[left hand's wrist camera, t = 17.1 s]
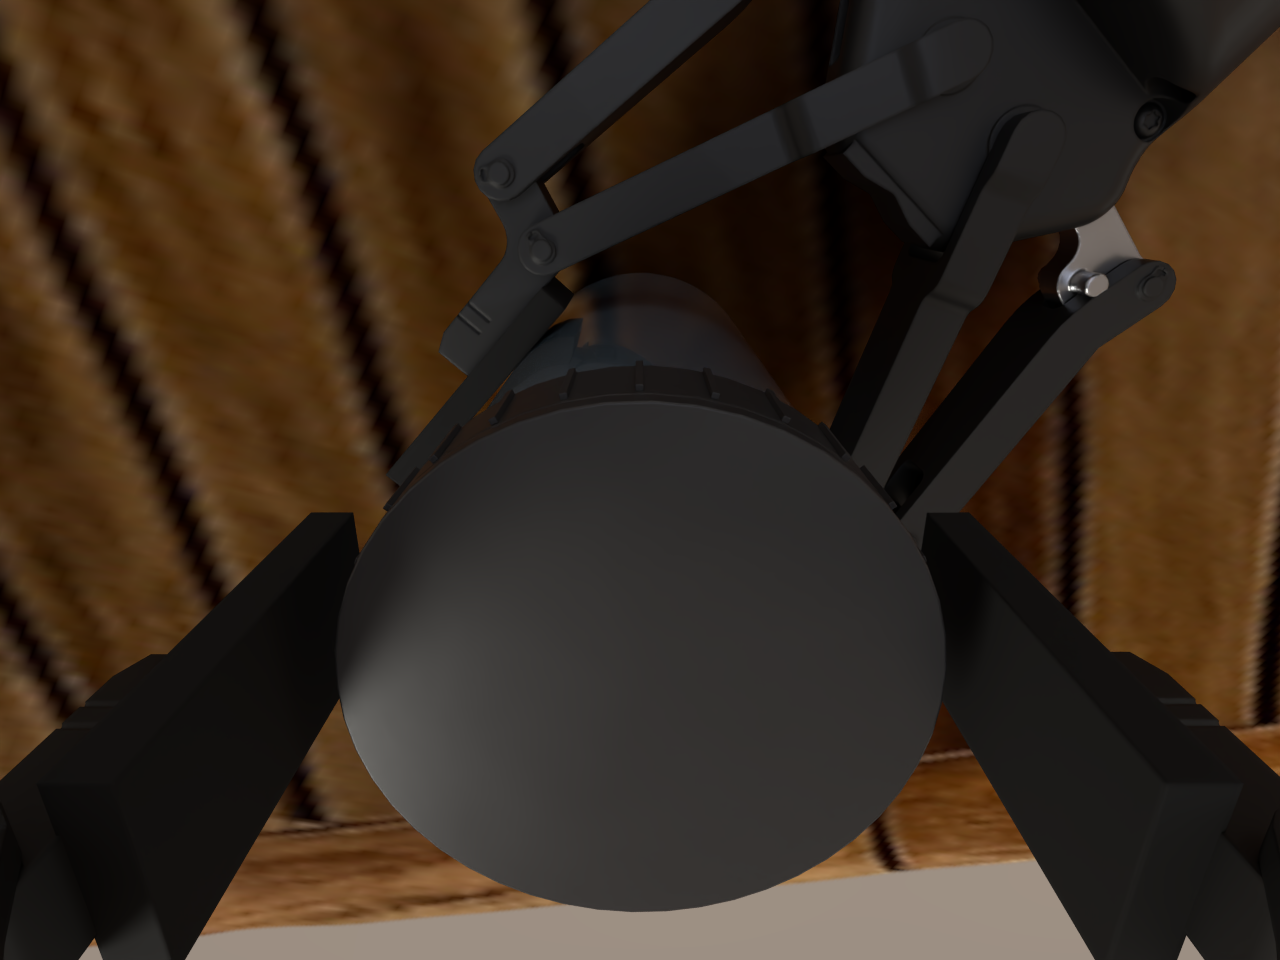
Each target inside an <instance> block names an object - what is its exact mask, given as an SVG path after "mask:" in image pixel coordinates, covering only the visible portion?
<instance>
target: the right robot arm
mask: <svg viewBox="0 0 1280 960" xmlns="http://www.w3.org/2000/svg"><path fill="white" fill-rule="evenodd" d="M751 1H752V0H650V1H649V2H648V3H647V4H646V5H644V6H643V7H642V8H641V9H640V10H639V11H638V12H637V13H635V14H634V15H633V16H632V17H631V18H630V19H629V20H628V21H627V22H625V23H624V24H623V25H622V26H621V27H620V28H619V29H618V30H617V31H615V32H614V33H613V34H612V35H611V36H610V37H609V38H608V39H606V40H605V41H604V42H603V43H602V44H601V45H600V46H599V47H598V48H596V49H595V50H594V51H593V52H592V53H591V54H590V55H589V56H588V57H586V58H585V59H584V60H583V61H582V62H581V63H580V64H579V65H578V66H576V67H575V68H574V69H573V70H572V71H571V72H570V73H569V74H567V75H566V76H565V77H564V78H563V79H562V80H561V81H560V82H559V83H557V84H556V85H555V86H554V87H553V88H552V89H551V90H550V91H549V92H547V93H546V94H545V95H544V96H543V97H542V98H541V99H540V100H539V101H537V102H536V103H535V104H534V105H533V106H532V107H531V108H530V109H528V110H527V111H526V112H525V113H524V114H523V115H522V116H521V117H520V118H518V119H517V120H516V121H515V122H514V123H513V124H512V125H511V126H510V127H508V128H507V129H506V130H505V131H504V132H503V133H502V134H501V135H500V136H498V137H497V138H496V139H495V140H494V141H493V142H492V143H491V144H489V145H488V146H487V147H486V148H485V149H484V150H483V151H482V152H481V153H480V155H479V156H478V157H477V159H476V162H475V166H474V177H475V182H476V184H477V185H478V187H479V189H480V191H481V192H482V193H484V194H485V195H486V196H487V197H488V198H489V200H490V202H491V204H492V205H493V207H494V209H495V211H496V213H497V214H498V216H499V218H500V220H501V221H502V223H503V226H504V228H505V230H506V235H507V249H506V252H505V255H504V257H503V259H502V260H501V262H500V263H499V264H498V266H497V267H496V268H495V269H494V271H493V272H492V273H491V274H490V276H489V277H488V278H487V279H486V281H485V282H484V283H483V284H482V286H481V287H480V288H479V289H478V291H477V292H476V293H475V294H474V296H473V297H472V298H471V299H470V301H469V302H468V303H467V304H466V305H465V307H464V308H463V309H462V310H461V312H460V313H459V314H458V316H457V317H456V318H455V319H454V320H453V322H452V323H451V324H450V325H449V327H448V328H447V329H446V330H445V332H444V334H443V338H442V341H441V345H440V349H439V353H440V354H442V355H443V356H444V357H445V358H446V359H448V360H449V361H450V362H451V363H453V364H454V365H455V366H456V367H457V368H459V369H460V370H461V371H462V372H463V373H465V374H466V375H467V376H468V377H467V378H466V379H465V380H464V382H463V383H462V384H461V385H460V386H459V388H458V389H457V390H456V391H455V392H454V394H453V395H452V396H451V397H450V398H449V400H448V401H447V402H446V403H445V404H444V406H443V407H442V408H441V409H440V410H439V412H438V413H437V414H436V415H435V416H434V418H433V419H432V420H431V421H430V422H429V424H428V425H427V426H426V427H425V428H424V430H423V431H422V432H421V433H420V434H419V436H418V437H417V438H416V439H415V440H414V442H413V443H412V444H411V445H410V446H409V448H408V449H407V450H406V451H405V452H404V454H403V455H402V456H401V457H400V458H399V460H398V461H397V462H396V463H395V464H394V466H393V467H392V468H391V469H390V470H389V472H388V473H387V474H386V476H388V477H389V478H390V479H392V480H393V481H394V482H396V483H397V484H398V485H400V486H401V484H402V483H403V482H404V481H405V480H406V478H407V477H408V476H409V475H410V473H411V472H412V471H413V470H414V468H415V467H417V468H419V469H421V468H422V467H423V466H424V465H425V464H426V462H427V461H428V460H429V457H430V456H431V455H432V453H433V452H434V451H435V450H436V448H437V447H438V446H439V445H440V443H441V442H442V441H443V439H444V438H445V437H446V436H447V434H448V433H449V432H450V431H451V429H452V428H453V427H454V426H455V425H456V424H459V425H460V426H461V427H463V426H464V425H465V424H466V423H468V422H469V421H470V420H471V419H472V418H473V417H474V416H475V414H476V413H477V412H478V411H479V410H480V409H481V407H482V406H483V405H484V404H485V403H486V402H487V400H488V399H489V398H490V397H491V396H492V395H493V393H494V392H495V391H496V390H497V389H498V388H499V386H500V385H501V384H502V383H503V382H504V381H505V379H506V378H507V377H508V376H509V375H510V374H511V372H512V371H513V370H514V369H515V368H516V366H517V365H518V364H519V363H520V362H521V361H522V359H523V358H524V357H525V356H526V355H527V354H528V352H529V351H530V350H531V349H532V348H533V347H534V345H535V344H536V343H537V342H538V341H539V340H540V338H541V337H542V336H543V335H544V334H545V333H546V331H547V330H548V329H549V328H550V327H551V325H552V324H553V323H554V322H555V321H556V320H557V318H558V317H559V316H560V315H561V314H562V313H563V311H564V310H565V309H566V307H567V306H568V304H569V303H570V301H571V299H572V298H573V296H574V294H573V293H572V292H571V291H570V290H569V289H568V288H566V287H565V286H564V285H563V284H562V283H561V282H560V281H559V280H558V279H556V278H555V276H556V275H557V273H558V272H559V271H560V270H562V269H565V268H567V267H569V266H571V265H573V264H575V263H577V262H580V261H582V260H584V259H586V258H588V257H590V256H592V255H595V254H597V253H599V252H601V251H603V250H605V249H607V248H610V247H612V246H614V245H616V244H618V243H620V242H622V241H625V240H627V239H629V238H631V237H633V236H635V235H637V234H640V233H642V232H644V231H646V230H648V229H650V228H652V227H654V226H657V225H659V224H661V223H663V222H665V221H667V220H669V219H672V218H674V217H676V216H678V215H680V214H682V213H684V212H687V211H689V210H691V209H693V208H695V207H697V206H699V205H702V204H704V203H706V202H708V201H710V200H712V199H714V198H717V197H719V196H721V195H723V194H725V193H727V192H729V191H731V190H734V189H736V188H738V187H740V186H742V185H744V184H746V183H749V182H751V181H753V180H755V179H757V178H759V177H761V176H764V175H766V174H768V173H770V172H772V171H774V170H776V169H779V168H781V167H783V166H785V165H787V164H789V163H791V162H794V161H796V160H798V159H801V158H803V157H806V156H808V155H811V154H813V153H815V152H817V151H820V150H822V149H824V148H825V149H826V151H827V153H826V154H825V155H824V156H823V157H824V158H825V159H826V160H827V162H828V163H829V164H830V165H831V166H832V167H833V168H834V169H835V170H836V171H837V172H838V173H839V174H840V175H841V177H842V178H844V179H845V180H847V181H849V182H850V183H852V184H854V185H856V186H857V187H859V188H861V189H863V190H864V191H866V192H868V193H869V194H870V196H871V197H872V199H873V201H874V203H875V205H876V207H877V209H878V211H879V213H880V215H881V217H882V219H883V221H884V223H885V224H886V225H887V226H888V227H889V228H890V229H891V230H892V231H893V232H894V233H895V234H896V235H897V236H898V237H899V239H900V240H901V241H902V242H905V243H904V245H903V248H902V250H901V252H900V255H899V257H898V259H897V261H896V264H895V267H894V269H893V274H892V287H891V290H890V293H889V295H888V297H887V299H886V302H885V304H884V306H883V309H882V311H881V313H880V315H879V318H878V320H877V322H876V325H875V327H874V329H873V331H872V334H871V336H870V338H869V341H868V343H867V345H866V347H865V350H864V352H863V354H862V357H861V359H860V361H859V363H858V366H857V368H856V370H855V373H854V375H853V377H852V379H851V382H850V384H849V386H848V388H847V391H846V393H845V395H844V398H843V400H842V402H841V404H840V407H839V409H838V411H837V414H836V416H835V418H834V420H833V423H832V425H831V427H830V431H831V432H832V433H833V434H834V436H835V437H836V438H837V440H838V441H839V442H840V443H841V445H842V446H843V447H844V448H845V450H846V451H847V452H848V453H849V455H850V456H851V458H852V459H853V461H854V462H855V463H856V464H857V466H858V467H859V468H860V467H862V466H863V465H865V466H866V468H867V469H868V470H869V471H870V473H871V474H872V475H873V476H874V478H875V479H876V480H877V481H878V482H879V484H880V485H881V486H882V487H883V489H884V490H885V491H886V492H887V494H888V495H889V496H890V497H891V498H892V500H893V501H894V502H895V504H896V505H897V507H896V508H894V509H893V512H894V513H895V514H896V516H897V517H898V518H899V520H900V521H901V522H902V524H903V525H904V526H905V528H906V529H907V530H908V532H909V533H910V534H911V536H912V538H913V540H914V542H915V544H916V545H917V547H918V548H919V549H920V550H921V547H922V541H923V534H924V528H925V521H926V515H927V513H959V512H960V510H961V509H962V508H963V507H964V506H965V504H966V503H967V502H968V501H969V500H970V499H971V497H972V496H973V495H974V494H975V493H976V492H977V490H978V489H979V488H980V487H981V486H982V484H983V483H984V482H985V481H986V480H987V479H988V477H989V476H990V475H991V474H992V473H993V471H994V470H995V469H996V468H997V467H998V466H999V464H1000V463H1001V462H1002V461H1003V460H1004V459H1005V457H1006V456H1007V455H1008V454H1009V453H1010V451H1011V450H1012V449H1013V448H1014V447H1015V446H1016V444H1017V443H1018V442H1019V441H1020V440H1021V438H1022V437H1023V436H1024V435H1025V434H1026V433H1027V431H1028V430H1029V429H1030V428H1031V427H1032V425H1033V424H1034V423H1035V422H1036V421H1037V420H1038V418H1039V417H1040V416H1041V415H1042V414H1043V413H1044V411H1045V410H1046V409H1047V408H1048V407H1049V405H1050V404H1051V403H1052V402H1053V401H1054V400H1055V398H1056V397H1057V396H1058V395H1059V394H1060V392H1061V391H1062V390H1063V389H1064V388H1065V387H1066V385H1067V384H1068V383H1069V382H1070V381H1071V380H1072V378H1073V377H1074V376H1075V375H1076V374H1077V372H1078V371H1079V370H1080V369H1081V368H1082V367H1083V365H1084V364H1085V363H1086V362H1087V361H1088V359H1089V358H1090V357H1091V356H1092V355H1093V354H1094V352H1095V351H1096V350H1097V349H1098V348H1099V347H1101V346H1102V345H1104V344H1105V343H1107V342H1108V341H1110V340H1111V339H1113V338H1114V337H1116V336H1117V335H1119V334H1120V333H1122V332H1123V331H1125V330H1126V329H1128V328H1129V327H1131V326H1132V325H1134V324H1135V323H1137V322H1138V321H1140V320H1141V319H1143V318H1144V317H1146V316H1147V315H1149V314H1150V313H1152V312H1153V311H1155V310H1156V309H1158V308H1159V307H1161V306H1162V305H1163V304H1164V303H1165V302H1166V301H1167V300H1168V299H1169V298H1170V296H1171V295H1172V293H1173V291H1174V289H1175V284H1176V276H1175V272H1174V270H1173V269H1172V268H1171V267H1170V265H1169V264H1167V263H1164V262H1161V261H1156V260H1149V259H1143V258H1142V257H1141V256H1140V254H1139V252H1138V250H1137V248H1136V246H1135V245H1134V243H1133V241H1132V239H1131V237H1130V235H1129V233H1128V231H1127V229H1126V227H1125V225H1124V223H1123V221H1122V220H1121V218H1120V216H1119V214H1118V212H1117V210H1116V208H1115V206H1114V205H1115V204H1116V202H1117V201H1118V200H1119V198H1120V197H1121V195H1122V193H1123V192H1124V190H1125V187H1126V185H1127V183H1128V180H1129V178H1130V175H1131V173H1132V171H1133V169H1134V167H1135V165H1136V164H1137V162H1138V160H1139V159H1140V157H1141V156H1142V154H1143V153H1144V152H1145V150H1146V149H1147V148H1148V146H1149V145H1150V144H1151V143H1152V142H1153V141H1154V140H1155V139H1157V138H1158V137H1159V136H1160V135H1161V134H1162V133H1164V132H1165V131H1166V130H1167V129H1169V128H1170V127H1171V126H1172V125H1174V124H1175V123H1176V122H1177V121H1179V120H1180V119H1181V118H1182V117H1184V116H1185V115H1186V114H1187V113H1188V112H1190V111H1191V110H1192V109H1193V108H1194V107H1195V106H1197V105H1198V104H1199V103H1200V102H1201V101H1202V100H1203V99H1204V98H1205V97H1206V96H1207V95H1208V94H1209V93H1210V92H1212V91H1213V90H1214V89H1215V88H1216V87H1217V86H1218V85H1219V84H1220V83H1221V82H1222V81H1223V80H1224V79H1225V78H1226V77H1227V76H1228V75H1229V74H1230V73H1231V72H1233V71H1234V70H1235V69H1236V68H1237V67H1238V66H1239V65H1240V64H1241V63H1242V62H1243V61H1244V60H1245V59H1246V58H1247V57H1248V56H1249V55H1250V54H1251V53H1253V52H1254V51H1255V50H1256V49H1257V48H1258V47H1259V46H1260V45H1261V44H1262V43H1263V42H1264V41H1265V40H1266V39H1267V38H1268V37H1269V36H1270V35H1271V34H1272V33H1274V32H1275V31H1276V30H1277V29H1278V28H1279V27H1280V0H840V4H839V9H838V15H837V21H836V26H835V32H834V38H833V43H832V49H831V55H830V60H829V66H828V72H827V77H826V83H825V84H824V85H822V86H820V87H818V88H816V89H813V90H811V91H809V92H807V93H805V94H803V95H801V96H799V97H797V98H795V99H793V100H791V101H789V102H787V103H785V104H783V105H781V106H779V107H777V108H775V109H773V110H771V111H769V112H767V113H764V114H762V115H760V116H758V117H756V118H754V119H752V120H750V121H748V122H746V123H744V124H742V125H739V126H737V127H735V128H733V129H731V130H729V131H727V132H725V133H723V134H721V135H719V136H717V137H714V138H712V139H710V140H708V141H706V142H704V143H702V144H700V145H698V146H696V147H694V148H692V149H690V150H687V151H685V152H683V153H681V154H679V155H677V156H675V157H673V158H671V159H669V160H667V161H665V162H662V163H660V164H658V165H656V166H654V167H652V168H650V169H648V170H646V171H644V172H642V173H640V174H637V175H635V176H633V177H631V178H629V179H627V180H625V181H623V182H621V183H619V184H617V185H615V186H613V187H610V188H608V189H606V190H604V191H602V192H600V193H598V194H596V195H594V196H592V197H590V198H588V199H585V200H583V201H581V202H579V203H577V204H575V205H573V206H571V207H569V208H567V209H565V210H563V211H560V212H559V210H558V208H557V207H556V205H555V203H554V201H553V199H552V197H551V195H550V194H549V192H548V190H547V188H546V186H545V184H544V183H545V182H546V181H548V180H549V179H550V178H551V177H552V176H553V175H555V174H556V173H557V172H558V171H559V170H560V169H562V168H563V167H564V166H565V165H566V164H567V163H568V162H570V161H571V160H572V159H573V158H574V157H575V156H577V155H578V154H579V153H580V152H581V151H582V150H584V149H585V148H586V147H587V146H588V145H589V144H591V143H592V142H593V141H594V140H595V139H596V138H597V137H599V136H600V135H601V134H602V133H603V132H604V131H606V130H607V129H608V128H609V127H610V126H611V125H613V124H614V123H615V122H616V121H617V120H618V119H620V118H621V117H622V116H623V115H624V114H625V113H626V112H628V111H629V110H630V109H631V108H632V107H633V106H635V105H636V104H637V103H638V102H639V101H640V100H642V99H643V98H644V97H645V96H646V95H647V94H648V93H650V92H651V91H652V90H653V89H654V88H655V87H657V86H658V85H659V84H660V83H661V82H662V81H664V80H665V79H666V78H667V77H668V76H669V75H671V74H672V73H673V72H674V71H675V70H676V69H677V68H679V67H680V66H681V65H682V64H683V63H684V62H686V61H687V60H688V59H689V58H690V57H691V56H693V55H694V54H695V53H696V52H697V51H698V50H699V49H701V48H702V47H703V46H704V45H705V44H706V43H708V42H709V41H710V40H711V39H712V38H713V37H715V36H716V35H717V34H718V33H719V32H720V31H722V30H723V29H724V28H725V27H726V26H727V25H728V24H730V23H731V22H732V21H733V20H734V19H735V18H736V17H737V16H738V15H739V14H740V13H741V12H742V11H743V10H744V9H745V8H746V7H747V5H748V4H749V3H750V2H751ZM1055 232H1059V234H1060V244H1059V248H1058V250H1057V252H1056V254H1055V256H1054V257H1053V258H1052V259H1051V260H1050V262H1049V263H1048V264H1047V265H1046V266H1044V267H1043V268H1041V270H1040V271H1039V273H1038V282H1039V287H1040V290H1039V291H1037V292H1036V293H1035V294H1033V295H1032V296H1031V297H1030V298H1029V299H1028V300H1027V301H1025V302H1024V303H1023V304H1022V305H1021V306H1020V307H1019V308H1018V309H1017V310H1016V311H1015V312H1014V313H1013V315H1012V316H1011V317H1010V318H1009V319H1008V320H1007V321H1006V323H1005V324H1004V325H1003V326H1002V328H1001V329H1000V330H999V331H998V333H997V334H996V335H995V336H994V338H993V339H992V340H991V341H990V343H989V344H988V345H987V346H986V348H985V349H984V350H983V352H982V353H981V354H980V355H979V357H978V358H977V359H976V360H975V362H974V363H973V364H972V365H971V367H970V368H969V369H968V370H967V372H966V373H965V374H964V376H963V377H962V378H961V379H960V381H959V382H958V383H957V384H956V386H955V387H954V388H953V389H952V391H951V392H950V393H949V394H948V396H947V397H946V398H945V399H944V401H943V402H942V403H941V405H940V406H939V407H938V408H937V410H936V411H935V412H934V413H933V415H932V416H931V417H930V418H929V420H928V421H927V422H926V423H925V425H924V426H923V427H922V429H921V430H920V431H919V432H918V434H917V435H916V436H915V437H914V439H913V440H912V441H911V442H910V444H909V445H908V446H907V447H906V449H905V450H904V451H903V452H902V454H901V455H900V453H901V451H902V449H903V447H904V445H905V443H906V441H907V439H908V437H909V435H910V432H911V430H912V428H913V426H914V424H915V422H916V420H917V418H918V416H919V414H920V412H921V410H922V407H923V405H924V403H925V401H926V399H927V397H928V395H929V393H930V391H931V389H932V387H933V385H934V383H935V380H936V378H937V376H938V374H939V372H940V370H941V368H942V366H943V364H944V362H945V360H946V358H947V355H948V353H949V351H950V349H951V347H952V345H953V343H954V341H955V339H956V337H957V335H958V333H959V330H960V328H961V326H962V324H963V322H964V320H965V318H966V317H967V315H968V314H969V313H970V311H972V310H973V309H975V308H976V307H978V306H979V305H980V304H981V302H982V301H983V300H984V298H985V297H986V295H987V293H988V291H989V289H990V287H991V285H992V283H993V281H994V279H995V277H996V275H997V273H998V271H999V269H1000V267H1001V265H1002V263H1003V261H1004V258H1005V256H1006V254H1007V252H1008V250H1009V248H1010V246H1011V244H1012V242H1013V241H1018V240H1023V239H1027V238H1032V237H1037V236H1041V235H1046V234H1051V233H1055ZM899 455H900V456H899ZM898 457H899V458H898Z"/></svg>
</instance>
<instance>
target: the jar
mask: <svg viewBox="0 0 1280 960" xmlns="http://www.w3.org/2000/svg"><path fill="white" fill-rule="evenodd" d="M636 361H643V366H650V365H651V366H661V367H671V368H681V369H690V370H695V371H699V372H703V368H704V367H706V368H710V369H711V371H712V374H713V375H716V376H721V377H725V378H728V379H731V380H734V381H736V382H739V383H742V384H744V385H747V386H750V387H752V388H755V389H758V390H760V391H763V392H765V391H766V389H767V388H768V389H770V390H772V391H773V392H774V393H775V395H776V396H777V398H778V399H779V401H781V402H783V403H785V404H787V405H789V406H791V407H792V408H793V406H792V405H791V403H790V402H789V401H788V399H787V398H786V396H785V395H784V393H783V392H782V391H781V389H780V388H779V386H778V385H777V383H776V382H775V381H774V379H773V378H772V376H771V375H770V373H769V372H768V371H767V369H766V368H765V366H764V365H763V363H762V362H761V361H760V359H759V358H758V356H757V355H756V353H755V352H754V351H753V349H752V348H751V346H750V345H749V343H748V342H747V341H746V339H745V338H744V336H743V335H742V333H741V332H740V331H739V329H738V328H737V326H736V325H735V323H734V322H733V321H732V319H731V318H730V317H729V315H728V314H727V313H726V311H725V310H724V309H723V308H722V307H721V306H720V305H719V304H718V303H717V302H716V301H715V300H713V299H712V298H711V297H709V296H708V295H707V294H706V293H704V292H703V291H701V290H699V289H698V288H696V287H694V286H692V285H691V284H688V283H686V282H684V281H681V280H679V279H676V278H672V277H668V276H665V275H660V274H651V273H628V274H622V275H615V276H612V277H609V278H605V279H602V280H599V281H597V282H595V283H593V284H590V285H588V286H586V287H585V288H583V289H581V290H580V291H578V292H577V293H575V294H574V296H573V298H572V299H571V301H570V303H569V304H568V306H567V307H566V309H565V310H564V311H563V313H562V314H561V315H560V316H559V317H558V318H557V320H556V321H555V322H554V323H553V324H552V325H551V327H550V328H549V329H548V330H547V331H546V333H545V334H544V335H543V336H542V337H541V338H540V340H539V341H538V342H537V343H536V344H535V345H534V347H533V348H532V349H531V350H530V351H529V352H528V354H527V355H526V356H525V357H524V358H523V359H522V361H521V362H520V363H519V364H518V365H517V366H516V368H515V369H514V371H513V372H512V374H511V375H510V377H509V378H508V379H507V381H506V382H505V384H504V385H503V387H502V388H501V389H500V391H499V392H498V394H497V395H496V397H495V398H494V400H493V401H492V402H491V404H490V405H489V407H488V408H490V407H492V406H493V405H495V404H496V403H498V402H499V401H501V399H502V398H503V396H504V395H505V393H506V392H507V391H509V390H511V389H512V390H513V391H514V393H515V394H516V393H518V392H520V391H522V390H525V389H527V388H529V387H531V386H534V385H536V384H538V383H542V382H545V381H548V380H552V379H555V378H558V377H562V376H565V375H566V374H567V372H568V369H572V368H576V372H582V371H589V370H595V369H601V368H607V367H619V366H636ZM488 408H487V409H488Z"/></svg>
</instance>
